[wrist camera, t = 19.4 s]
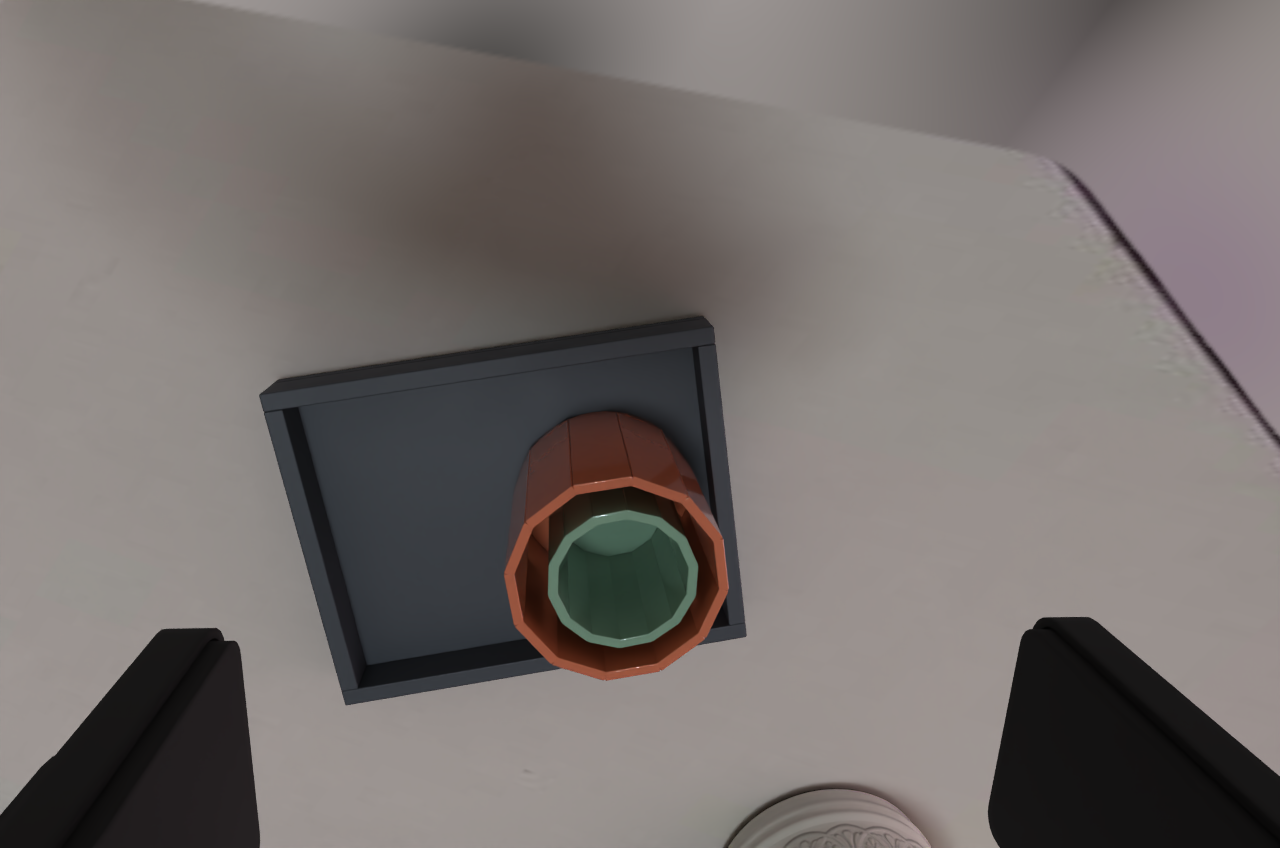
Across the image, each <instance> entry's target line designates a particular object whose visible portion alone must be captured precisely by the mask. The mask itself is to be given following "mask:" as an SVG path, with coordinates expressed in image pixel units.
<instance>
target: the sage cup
mask: <svg viewBox="0 0 1280 848" xmlns="http://www.w3.org/2000/svg"><path fill="white" fill-rule="evenodd" d="M697 578H698V563H697V560H696V557H695V554H694V552H693V549H692V546H691V543H690V541H689V538H688V535H687V532H686V530H685V527H684V524H683V521H682V519H681V516H680V513H679V510H678V507H677V505H676V502H675V501H673V500H670V499H667V498H664V497H661V496H658V495H656V494H653V493H650V492H647V491H644V490H641V489H639V488H636V487H633V486H628V487H622V488H615V489H609V490H603V491H596V492H590V493H584V494H578V495H576V496H574V497H573V498H572V499H570V500H569V501H568V502H566V503H565V504H564V505H562V506H561V507H560V508H559V509H557V510H556V511H555V512H553V513H552V514H551V515H549V516H548V597H549V599H550V601H551V603H552V605H553V607H554V609H555V611H556V613H557V615H558V617H559V619H560V621H561V623H562V624H563V625H565V626H566V627H568V628H569V629H570V630H572V631H573V632H575V633H576V634H577V635H579V636H580V637H581V638H583V639H584V640H586V641H588V642H590V643H595V644H600V645H605V646H610V647H616V648H624V647H629V646H634V645H639V644H643V643H648V642H652V641H654V640H656V639H657V638H659V637H660V636H661V635H663V634H664V633H666V632H667V631H669V630H670V629H672V628H673V627H675V626H676V625H678V624H679V623H680V621H681V620H682V618H683V617H684V615H685V613H686V612H687V610H688V608H689V607H690V605H691V603H692V602H693V600H694V599H695V597H696V591H697Z"/></svg>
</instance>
